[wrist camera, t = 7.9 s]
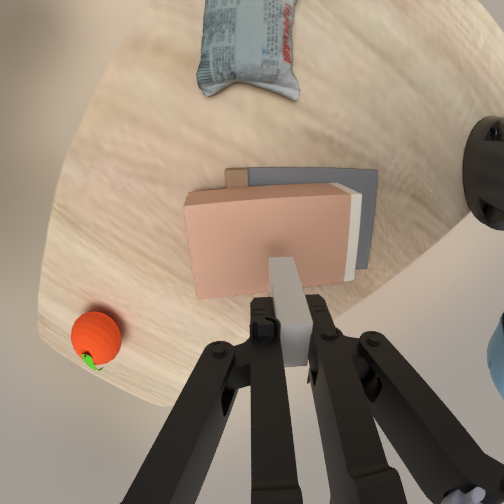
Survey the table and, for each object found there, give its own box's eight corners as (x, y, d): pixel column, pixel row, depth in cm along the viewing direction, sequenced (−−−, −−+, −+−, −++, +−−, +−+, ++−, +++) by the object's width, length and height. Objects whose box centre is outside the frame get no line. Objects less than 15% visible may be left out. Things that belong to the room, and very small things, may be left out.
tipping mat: (376, 170, 25) (382, 172, 24) (365, 267, 30) (370, 273, 29) (226, 168, 25) (224, 170, 24) (232, 272, 30) (231, 279, 29)
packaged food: (298, 0, 18) (306, -21, 14) (295, 103, 23) (304, 97, 18) (209, -3, 18) (201, -25, 14) (201, 99, 23) (190, 93, 18)
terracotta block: (189, 192, 24) (337, 182, 26) (199, 271, 28) (333, 257, 29) (183, 206, 20) (361, 194, 21) (197, 299, 23) (353, 280, 24)
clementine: (135, 349, 35) (119, 386, 29) (95, 343, 35) (76, 376, 29) (121, 303, 32) (99, 339, 25) (78, 298, 32) (53, 331, 25)
